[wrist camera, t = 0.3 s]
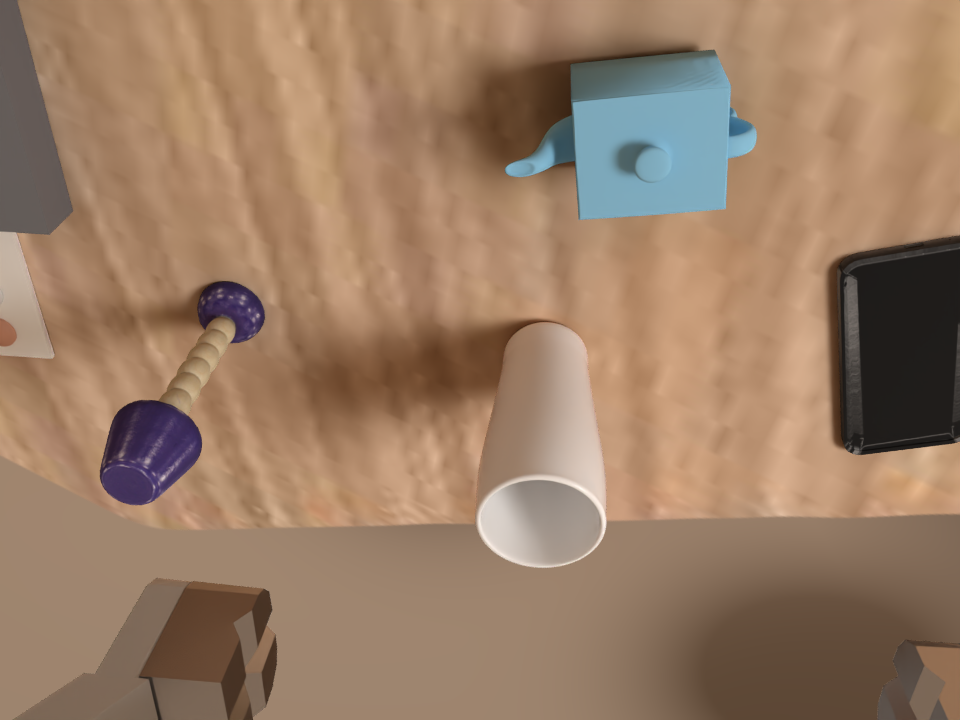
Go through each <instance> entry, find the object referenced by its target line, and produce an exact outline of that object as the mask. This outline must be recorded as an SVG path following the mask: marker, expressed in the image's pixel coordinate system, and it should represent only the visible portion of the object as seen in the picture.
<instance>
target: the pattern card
mask: <svg viewBox="0 0 960 720" xmlns="http://www.w3.org/2000/svg"><path fill="white" fill-rule="evenodd" d="M0 355H5V356H19V357H34V358H48V359H52V358H53V357H54V356H55V355H54V352H53V348H52V345H51V342H50V339H49V336H48V332H47V329H46V326H45V323H44V320H43V316H42V313H41V310H40V307H39V304H38V300H37V297H36V294H35V291H34V288H33V284H32V281H31V278H30V275H29V272H28V268H27V265H26V262H25V259H24V256H23V252H22V249H21V246H20V243H19V240H18V236H17V233H16V232H0Z"/></svg>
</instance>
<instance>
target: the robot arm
mask: <svg viewBox="0 0 960 720" xmlns="http://www.w3.org/2000/svg"><path fill="white" fill-rule="evenodd" d="M271 612H272V605H271V599H270V593H269V591H267V590H265V589H262V588H252V587H243V586H233V585H225V584H215V583H206V582H196V581H193V582H189V581H179V580H170V579H161V578H156V579H155V580H153V581H152V582H151V583H150V584H148V585H147V586H146V587H145V589H144V591H143V593H142V594H141V596H140V598H139V599H138V601H137V603H136V605H135V606H134V608H133V610H132V612H131V613H130V615H129V617H128V618H127V620H126V622H125V623H124V625H123V627H122V628H121V630H120V632H119V634H118V635H117V637H116V639H115V640H114V642H113V644H112V646H111V647H110V649H109V651H108V652H107V654H106V656H105V658H104V659H103V661H102V663H101V664H100V666H99V668H98V669H97V671H96V673H95V674H87V673H84V674H82V675H80V676H79V677H77V678H76V679H74V680H73V681H71V682H70V683H68V684H67V685H65V686H64V687H62V688H61V689H59V690H57V691H56V692H54V693H53V694H51V695H50V696H48V697H47V698H45V699H44V700H42V701H41V702H39V703H37V704H36V705H35V706H33V707H31V708H30V709H28V710H27V711H25V712H24V713H22V714H21V715H19V716H18V717H16V718H15V719H13V720H253V717H254V716H255V715H256V714H257V713H259V712H260V711H261V710H263V708H265V707H266V705H267V702H268V699H269V696H270V693H271V690H272V687H273V682H274V676H275V671H276V665H277V643H276V635H275V633H274V632H273V631H272V630H271V629H270V628H269V627H268V626H267V623H268V620H269V617H270V615H271ZM893 663H894V666H895V668H896V671H897V673H898V676H897V677H896V678H894V679H893V680H891V681H890V682H888V683H887V684H885V685H884V686H883V689H882V692H881V696H880V699H879V702H878V720H960V644H957V643H943V642H930V641H916V640H915V641H914V640H904V641H903V642H902V643H901V644H900V645H899V646H898V648H897V651H896V653H895V656H894V658H893Z"/></svg>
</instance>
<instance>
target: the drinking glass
mask: <svg viewBox="0 0 960 720" xmlns="http://www.w3.org/2000/svg"><path fill="white" fill-rule="evenodd" d="M606 510H607V490H606V474H605V464H604V456H603V450H602V445H601V439H600V433H599V428H598V422H597V417H596V411H595V406H594V400H593V394H592V388H591V382H590V376H589V365H588V353H587V349H586V346H585V344H584V342H583V341H582V339H581V338H580V337H579V336H578V335H577V334H576V333H575V332H574V331H573V330H571V329H569V328H568V327H566V326H563V325H561V324H557V323H552V322H539V323H534V324H530V325H527V326H525V327H523V328H521V329H520V330H518V331H517V332H516V333H515V334H514V335H513V336H512V337H511V338H510V340H509V341H508V343H507V345H506V347H505V350H504V355H503V365H502V371H501V375H500V380H499V384H498V388H497V392H496V397H495V401H494V405H493V409H492V413H491V417H490V421H489V425H488V429H487V433H486V437H485V441H484V446H483V450H482V455H481V460H480V465H479V472H478V480H477V491H476V509H475V524H476V528H477V531H478V534H479V536H480V538H481V539H482V541H483V542H484V543H485V544H486V546H487V547H489V549H490V550H492V551H493V552H494V553H496V554H497V555H498V556H500V557H502V558H504V559H506V560H508V561H510V562H513V563H516V564H519V565H523V566H528V567H537V568H550V567H558V566H563V565H567V564H570V563H573V562H576V561H578V560H580V559H582V558H583V557H585V556H587V555H588V554H589V553H591V552H592V551H593V550H594V549H595V548H596V547H597V546H598V545H599V543H600V542H601V540H602V538H603V536H604V533H605V529H606Z"/></svg>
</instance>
